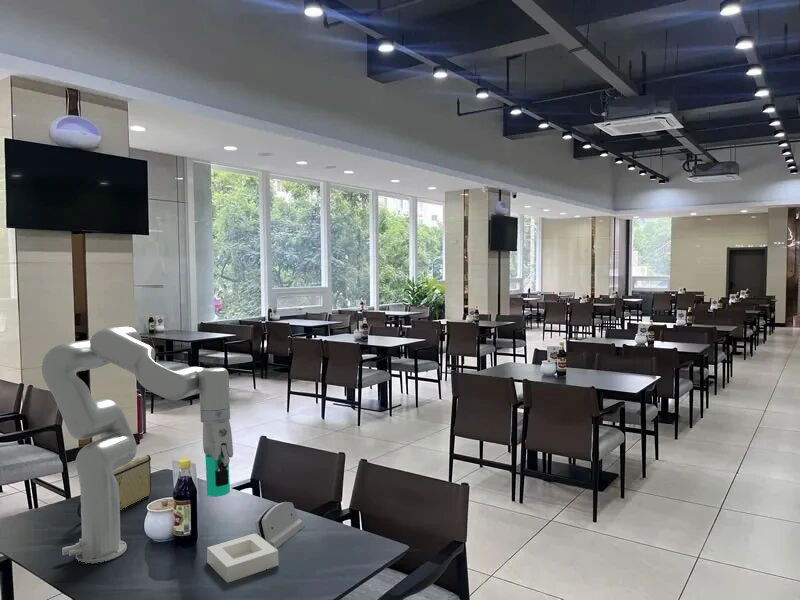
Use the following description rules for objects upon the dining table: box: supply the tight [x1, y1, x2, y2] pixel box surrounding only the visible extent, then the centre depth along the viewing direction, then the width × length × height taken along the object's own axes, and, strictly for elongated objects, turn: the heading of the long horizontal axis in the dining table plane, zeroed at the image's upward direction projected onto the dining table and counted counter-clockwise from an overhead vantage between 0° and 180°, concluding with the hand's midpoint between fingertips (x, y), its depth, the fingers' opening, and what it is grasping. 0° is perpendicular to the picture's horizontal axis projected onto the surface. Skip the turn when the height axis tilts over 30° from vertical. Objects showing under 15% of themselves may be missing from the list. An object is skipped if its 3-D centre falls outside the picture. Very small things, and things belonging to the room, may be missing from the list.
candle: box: [204, 453, 231, 498], centre depth 153 cm, size 6×6×12 cm
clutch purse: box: [76, 454, 152, 519], centre depth 191 cm, size 30×7×15 cm, turn 165°
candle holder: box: [206, 532, 279, 584], centre depth 153 cm, size 14×14×4 cm
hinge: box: [255, 501, 305, 549], centre depth 170 cm, size 17×5×10 cm, turn 159°
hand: (218, 481), depth 153 cm, fingers closed on candle, 4 cm apart
